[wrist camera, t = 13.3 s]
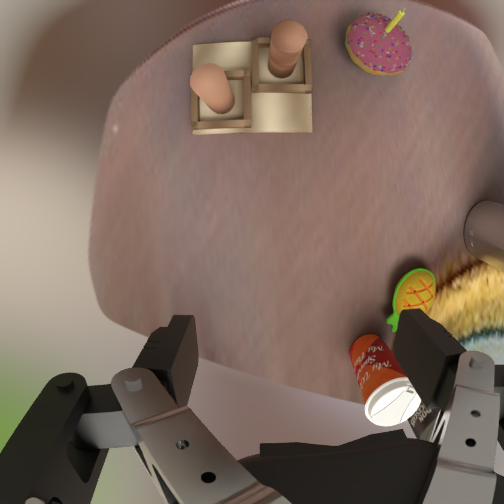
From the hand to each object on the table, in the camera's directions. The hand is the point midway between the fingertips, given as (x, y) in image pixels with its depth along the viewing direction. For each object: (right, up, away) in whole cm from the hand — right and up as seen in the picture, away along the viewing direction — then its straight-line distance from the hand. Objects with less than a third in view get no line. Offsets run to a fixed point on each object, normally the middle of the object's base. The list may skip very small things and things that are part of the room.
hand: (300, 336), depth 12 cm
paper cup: (+16, -12, +35) cm, 40 cm away
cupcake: (+13, +29, +23) cm, 40 cm away
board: (-2, +24, +25) cm, 34 cm away
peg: (-5, +21, +24) cm, 33 cm away
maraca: (+21, -3, +32) cm, 38 cm away
